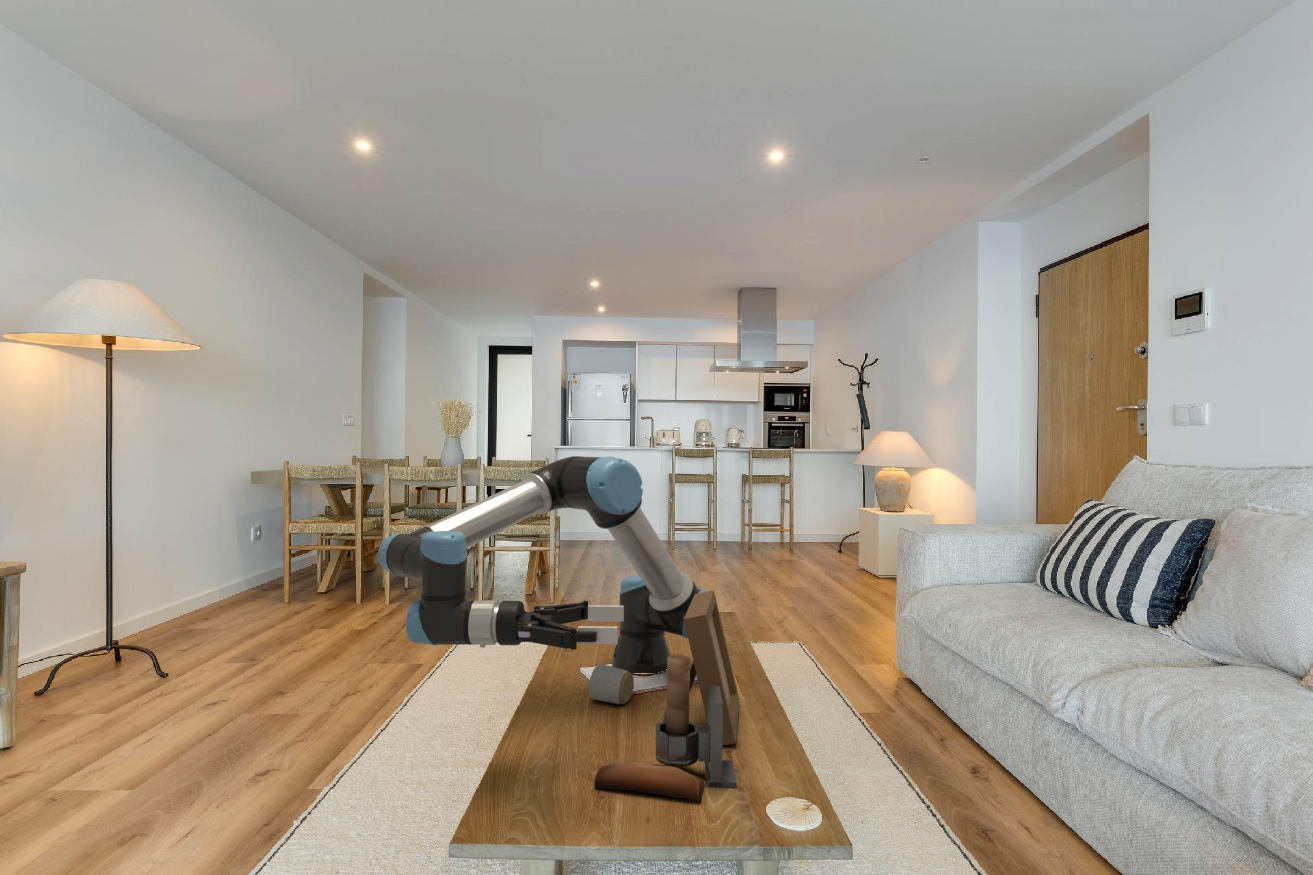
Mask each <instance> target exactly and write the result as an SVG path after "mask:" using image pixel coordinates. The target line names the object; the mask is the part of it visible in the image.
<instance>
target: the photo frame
mask: <svg viewBox="0 0 1313 875" xmlns="http://www.w3.org/2000/svg"><path fill="white" fill-rule="evenodd" d="M684 622H685V627H686V631H687V635H688V638H687V640H688V643H689V647H690V653H691V655H692V656H691V658H692V660H691V662H690V691H692V687H693V684H694V682H695V679H696V678H697V682H698V687H699V692H700V696H701V699H702V705H703V708H704V712H705V717H706V718H705V719H706V722H707V723H708V686H720V691H721V696H722V702H723V725H722V746H726V745H733V744H737V730H738V721H739V710H740V701H741V700H740V697H739V693H738V692H739V691H738V687H737V684H736V683H737V682H736V680H735V675H734V671H733V667H732V661H731V659H730V653H729V650H728V644H727V640H726V637H725V632H724V628H723V622H722V620H721V615H720V611H719V607H718V603H717V597H716V594H715V590H709V591H708V592H703V593H698V594H695V595H694V597H693V599H692V602H691V604H690V606H689V608H688V611H687V613H686V615H685V617H684ZM663 721H666V708H665V709H664V712H663ZM663 721H662V722H663Z"/></svg>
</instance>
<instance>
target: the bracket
mask: <svg viewBox="0 0 1313 875" xmlns="http://www.w3.org/2000/svg"><path fill="white" fill-rule="evenodd" d="M722 725H723V702H722V696H721V691H720V686H708V722H707V724H698V723H695V722H692V721H690V720H689V734H688V735H685V736H676V735H668V734H666V721H660V722H658V723H656V725H655V760H656V761H657V762H658V763H660V765H666V766H672V767H676V768H684V767H690V766H692V765H694V764H695V763H698V762H700V763H704V764H705V765H704V774H705V781H706V782H705V783H706V787H707V788H737V786H738V784H737V783H738V782H737V778H736V773H735V766H734V761H733V760H726V759H723V745H722Z"/></svg>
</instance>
